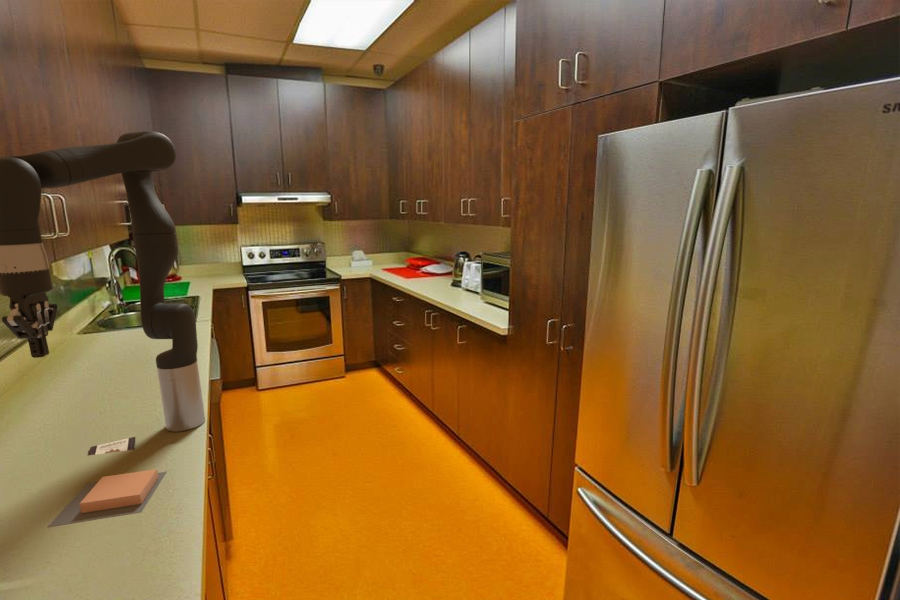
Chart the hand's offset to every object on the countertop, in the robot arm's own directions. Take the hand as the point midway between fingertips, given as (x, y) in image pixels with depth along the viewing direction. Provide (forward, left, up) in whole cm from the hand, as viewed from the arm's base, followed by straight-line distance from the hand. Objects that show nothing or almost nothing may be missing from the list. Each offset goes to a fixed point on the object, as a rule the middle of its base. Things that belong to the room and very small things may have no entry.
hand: (40, 356), depth 89 cm
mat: (+7, +11, -29) cm, 32 cm away
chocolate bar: (-11, +3, -30) cm, 32 cm away
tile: (+7, +8, -27) cm, 29 cm away
